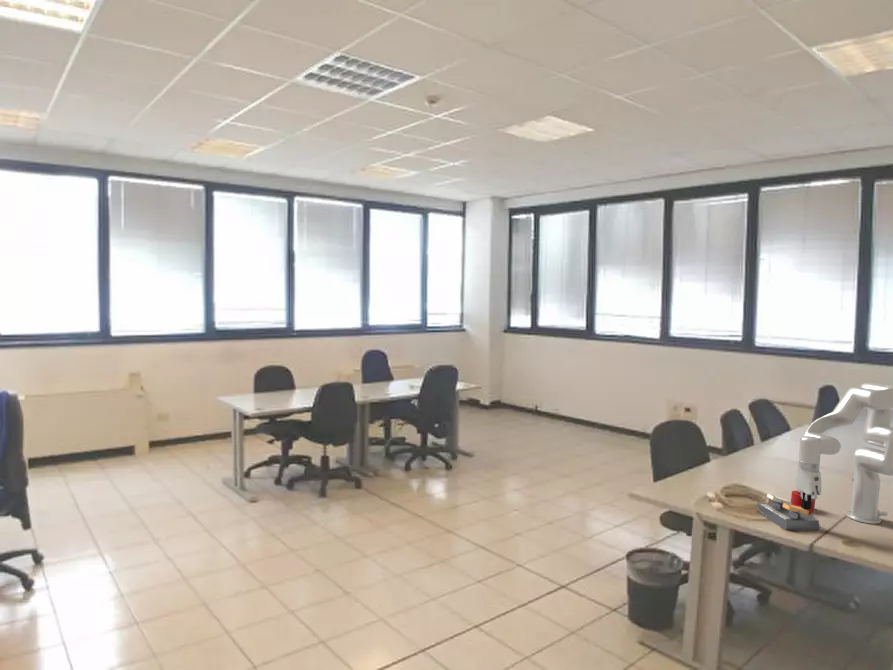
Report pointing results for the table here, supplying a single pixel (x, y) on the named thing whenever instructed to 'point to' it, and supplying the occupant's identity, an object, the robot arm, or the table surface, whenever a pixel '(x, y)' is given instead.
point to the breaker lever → (795, 508)
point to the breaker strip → (787, 517)
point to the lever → (797, 501)
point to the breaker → (778, 499)
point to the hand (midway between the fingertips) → (805, 508)
